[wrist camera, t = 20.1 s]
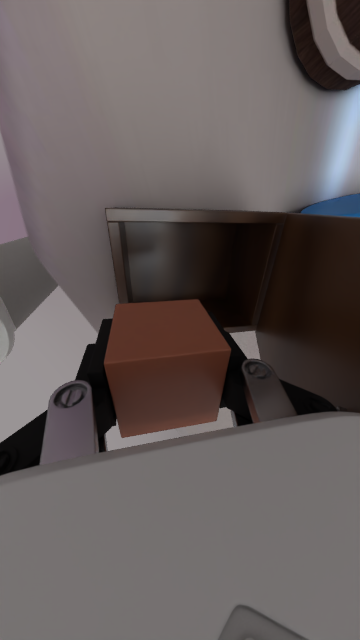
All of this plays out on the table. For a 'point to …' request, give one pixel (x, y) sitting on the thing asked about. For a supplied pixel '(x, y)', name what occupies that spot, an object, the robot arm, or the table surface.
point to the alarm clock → (337, 207)
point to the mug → (328, 40)
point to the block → (165, 366)
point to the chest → (196, 258)
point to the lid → (315, 308)
